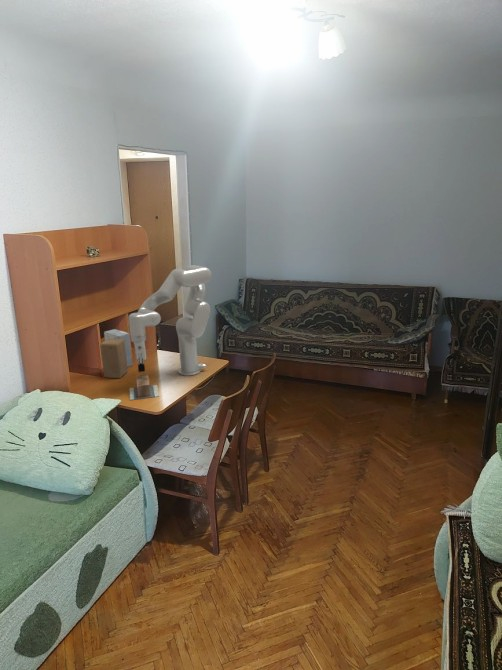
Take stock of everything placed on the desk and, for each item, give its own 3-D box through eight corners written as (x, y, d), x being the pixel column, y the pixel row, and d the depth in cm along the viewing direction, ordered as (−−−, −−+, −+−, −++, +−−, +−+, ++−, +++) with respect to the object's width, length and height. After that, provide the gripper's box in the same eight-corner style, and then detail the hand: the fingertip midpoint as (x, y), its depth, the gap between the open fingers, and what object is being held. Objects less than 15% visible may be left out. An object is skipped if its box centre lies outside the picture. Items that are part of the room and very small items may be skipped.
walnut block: (148, 374, 239) (149, 384, 226) (149, 385, 240) (150, 395, 227) (136, 375, 237) (137, 386, 224) (137, 386, 239) (138, 397, 226)
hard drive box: (133, 365, 269) (129, 333, 263) (122, 369, 263) (118, 336, 257) (118, 359, 279) (114, 328, 272) (107, 363, 273) (103, 331, 267)
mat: (157, 385, 240) (157, 384, 240) (159, 396, 228) (158, 395, 227) (129, 388, 237) (129, 388, 237) (130, 400, 224) (130, 399, 224)
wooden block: (120, 378, 250) (116, 344, 244) (103, 377, 252) (99, 343, 246) (128, 372, 259) (124, 338, 253) (112, 371, 261) (108, 337, 255)
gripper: (146, 341, 224) (150, 375, 230) (145, 332, 238) (148, 365, 244) (131, 342, 223) (134, 377, 228) (130, 333, 236) (134, 366, 242)
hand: (141, 371), depth 236 cm, fingers closed
